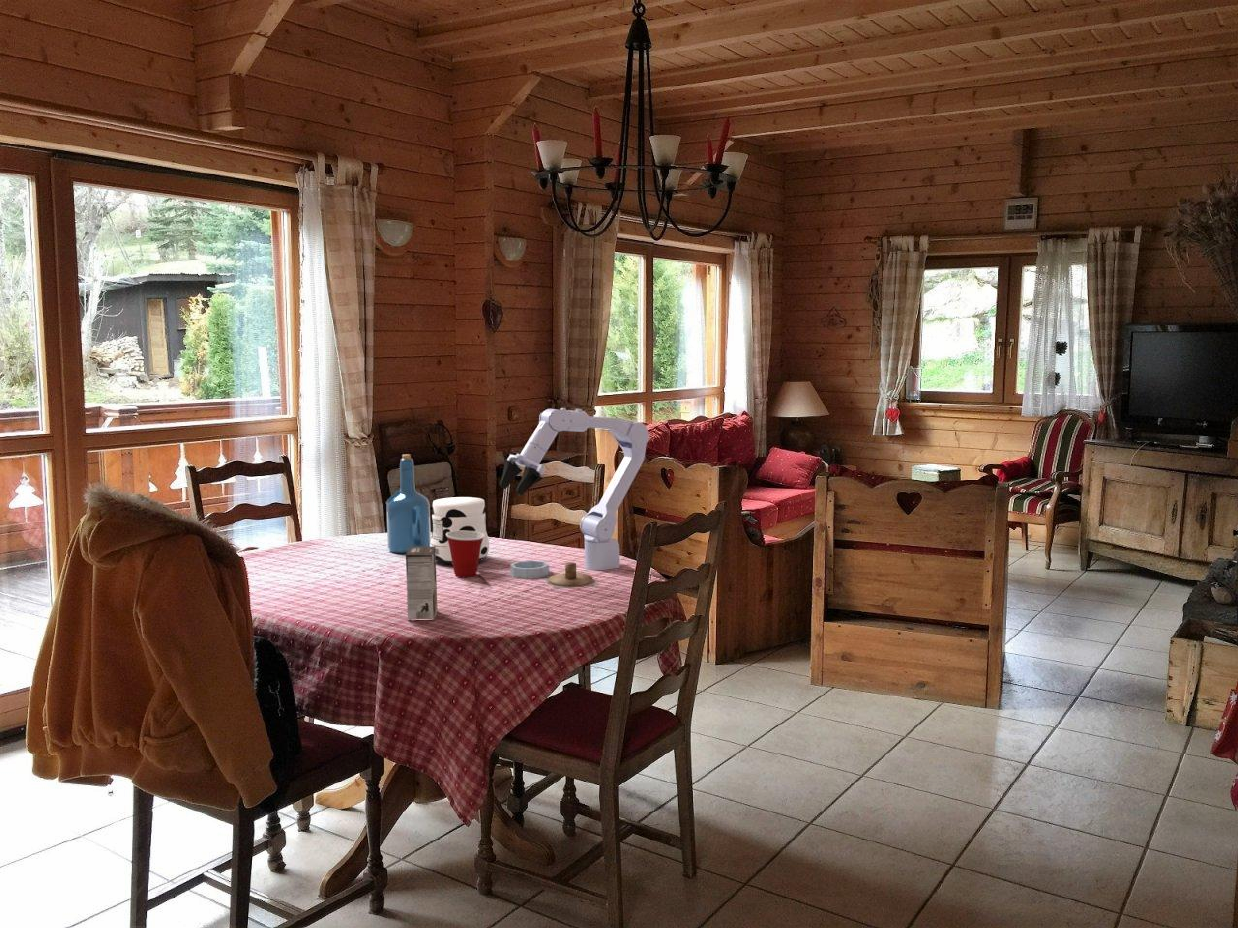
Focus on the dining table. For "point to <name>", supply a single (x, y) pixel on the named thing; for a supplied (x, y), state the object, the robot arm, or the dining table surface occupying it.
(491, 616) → the dining table surface
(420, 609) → the coffee box
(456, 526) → the white black patterned jar
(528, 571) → the bowl
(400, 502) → the wine bottle
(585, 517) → the robot arm
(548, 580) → the mat
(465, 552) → the plastic cup
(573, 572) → the lid
